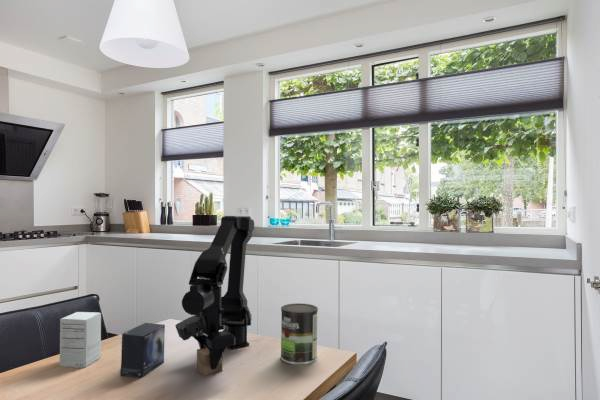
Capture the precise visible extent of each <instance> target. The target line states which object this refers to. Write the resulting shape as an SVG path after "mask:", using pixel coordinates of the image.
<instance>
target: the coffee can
mask: <svg viewBox="0 0 600 400" xmlns="http://www.w3.org/2000/svg"><path fill="white" fill-rule="evenodd" d="M280 311H281V332H280V333H281V334H280V335H281V336H280V338H281V339H280V340H281V341H280V344H281V345H280V360H281V361H282V362H284V363H286V364H289V365H293V366H294V365H296V366H297V365H298V366H303V365H305V366H306V365H310V364H312V363H314V362H316V361H317V359H318V357H317V356H318V355H317V354H318V311H319V308H318V306H317V305H313V304H310V303H289V304H285V305H282V306H281V307H280Z"/></svg>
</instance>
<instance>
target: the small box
mask: <svg viewBox="0 0 600 400" xmlns="http://www.w3.org/2000/svg"><path fill="white" fill-rule="evenodd" d="M165 328H166V325H165V324H162V323H161V324H160V323H154V322H153V323H152V322H151V323H150V322H144V323H142V324H139V325H138V326H135V327H133V328H131V329H129V330H126V331H125V332H123V333H122V334H121V351H120V353H121V357H120V359H121V360H120V373H119V374H120V376H128V377H134V378H143V377H145V376H146V375H147V374H149V373H150V372H152V371H153V370H155V369H156V368H158V367H159V366H161V365H162V364H163V363H164V362H165V333H166V329H165Z"/></svg>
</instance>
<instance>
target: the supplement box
mask: <svg viewBox="0 0 600 400" xmlns="http://www.w3.org/2000/svg"><path fill="white" fill-rule="evenodd" d="M59 320H60V321H59V323H60V324H59V329H60V330H59V331H60V332H59V367H60V368H61V367H64V368H88V366H90V365H91V364H94V362H95V361H97V360H98V359H100V358H101V354H102V353H101V349H102V348H101V345H102V344H101V343H102V312H97V311H95V312H91V311H90V312H89V311H75V312H74V313H72V314H69V315H66V316H64V317H61V318H60V319H59Z"/></svg>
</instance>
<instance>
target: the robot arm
mask: <svg viewBox="0 0 600 400" xmlns="http://www.w3.org/2000/svg"><path fill="white" fill-rule="evenodd" d="M254 230H255V221H254V219H252V218H251V216H247V215H246V216H244V215H242V216H241V215H239V216H238V215H224V216H222V217H221V219H220V225H219V227H218V229H217V231H216V233H215V235H214V238H213V240H212V241H211V243H210V246H209V247H208V248H207V249H205V250H204V251H202V252H201V253H200V255H199V257H197V259H196V260H195V262H194V265H193V269H192V272H191V274H190V278H189V282H188V285H189V290H188V291H187V292H185V293H184V295H183V297H182V299H181V306H182V309H183V310H184V312H185V313H186V314H188V315H191V316H190V317H187V318H185V319H183V320H182V321H180V322H178V323H177V324H175V329H176V332H177V333H178V337H179V338H180V339H182V341H187V340H189V339H190V338H191V337H192V338H193V339H195V341H197V342H198V347H199V349H201V348H207V349H208V350H209V356H210V364H211V369H212V370H213V369H216V367H217V365H218V363H219V361H220V359H221V357H222V355H223V354H224V352H225V350H227V348H228V349H231V350H232V349H237V348H241V347H246V346H249V345H250V342H248V326H252V314H251V311H250V309H249V306H248V300H247V297H246V295H245V293H244V280H245V267H246V264H245V263H246V251H247V244H248V243H249V241H250V240H251V239H252V238H253V231H254ZM229 250H230V252H229ZM228 252H229V253H230V254H229V267H228V264H227V263H228V262H227V259H226V257H227V254H228ZM227 271H228V278H227V280H228V281H227V291H226V292H225V294H224V295H223V296H222V286H223V285H224V280H225V277H226V273H227Z"/></svg>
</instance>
